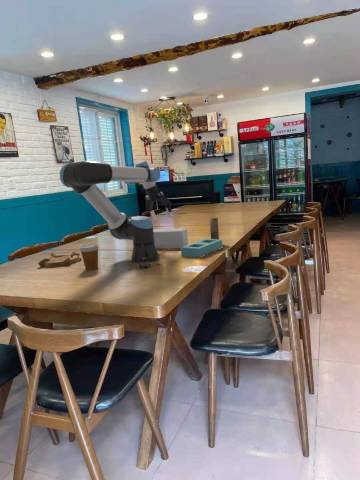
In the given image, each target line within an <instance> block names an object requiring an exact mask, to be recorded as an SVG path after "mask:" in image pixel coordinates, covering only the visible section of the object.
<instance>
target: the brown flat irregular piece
mask: <svg viewBox="0 0 360 480" xmlns="http://www.w3.org/2000/svg"><path fill="white" fill-rule="evenodd" d="M49 255H50V256H47V257H45V258H43V259H41V260H40V261H38V263H37V264H38V266H39V267H40V268H41V269H43V268H46V269H48V268H62V267H68V266H72V265H75V264H77V263H79V262H80V261H82V258H81V257H80V256H81V252H76V251H75V252H74V251H73V252H72V253H65V254H64V253H63V254H56V253H55V252H51V253H50V254H49Z"/></svg>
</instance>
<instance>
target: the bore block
mask: <svg viewBox="0 0 360 480" xmlns="http://www.w3.org/2000/svg"><path fill="white" fill-rule="evenodd" d="M221 247H223V239H219V240H218V239H211V238H203V239H201V240H198V241H195V242H192V243H188V245H186V246H183V247H181V248H180V252H181V254H180V255H181V257H185V256H188V257H187V258H196V257H200V258H202V257H201V256H203V255H205V256H207V255H209V254H208V253H210V252H212V251H215V250H217V249H219V248H221ZM219 250H220V249H219ZM217 251H218V250H217ZM215 252H216V251H215ZM212 253H213V252H212ZM206 254H207V255H206ZM210 254H211V253H210ZM203 257H204V256H203Z"/></svg>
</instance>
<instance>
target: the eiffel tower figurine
mask: <svg viewBox="0 0 360 480" xmlns="http://www.w3.org/2000/svg"><path fill="white" fill-rule="evenodd" d="M153 265H154V266H155V265H156V266H162V263H155V264H153ZM134 268H138V269H140V270H143V271H144V270H147V269H151V268H152V265H151V264H150V262H147V260H146V257H145V253H144V248H143V244H142V261H141V262H140V264H139V265H136V266H134ZM131 270H132V269H131V268H130V269H129V271H131Z"/></svg>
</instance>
